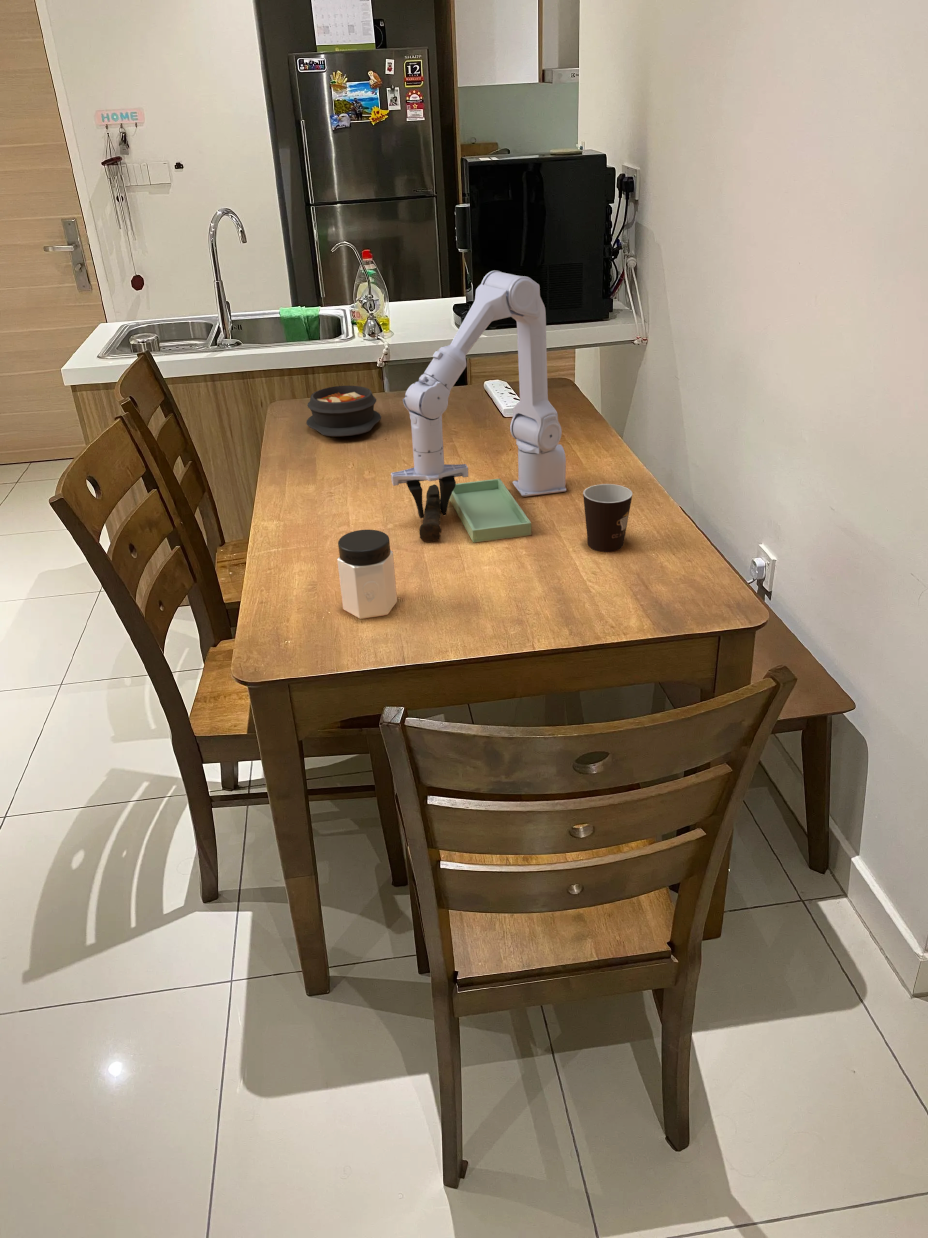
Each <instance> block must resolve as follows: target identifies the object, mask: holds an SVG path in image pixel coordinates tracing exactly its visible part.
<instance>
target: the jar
mask: <svg viewBox="0 0 928 1238" xmlns="http://www.w3.org/2000/svg"><path fill="white" fill-rule="evenodd" d="M337 546H338V555H339V556H338V557H337V559H336V561H337V569H338V570H337V571H338V578H339V587H340V594H341V603H342V609H343V610H344V611H345V612H347V613H349V614H350V615H352V616H353V617H356V618H358V619H360V620H362V619H370V618H377V617H383V616H388V615H389V613H390V612H391V611H392V609H393V608H394V606H396V604H397V603H398V593H397V583H396V571H395V570H396V569H395V558H394V552H393V550H391V543H390V537H389V535H388V534H387V533H386V532H383V531H381V530H376V529H359V530H353V531H350V532H348V533H347V532H346V533H345V534H343V535H342V536H341V537H340V538H338V541H337Z"/></svg>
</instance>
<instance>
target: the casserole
mask: <svg viewBox="0 0 928 1238" xmlns="http://www.w3.org/2000/svg"><path fill="white" fill-rule="evenodd" d="M309 398H310V399H309V401H308V403H307V408H308V409H309V411H310V412H311V415H310V416H309V417H308V418H307V420H306V425H307V427H308V428H310V429H312V430H314V431H317V433H320V434H321V435H322V436H324V437H349V436H350V437H351V436H357V435H358V436H359V435H361V434H365V433H368V432H370V431H371V430H372V429H373V428H374V426H375V425H376V424H378V423H379V422H380V421H381V419H382V415H381V413H380V412H378V411H377V410H375V405H376V403H377V398H376V397H375V396H374V394H373V392H372V390H371V389H370V388H368V387H364V386H360V385H336V386H330V387H324V388H322V389H319V390H316V391H314V392H313V393H312V394H311V395H310V397H309Z"/></svg>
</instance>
